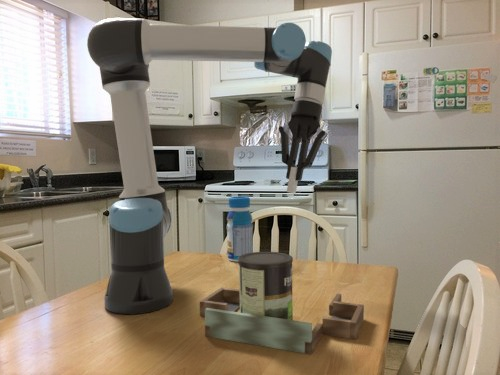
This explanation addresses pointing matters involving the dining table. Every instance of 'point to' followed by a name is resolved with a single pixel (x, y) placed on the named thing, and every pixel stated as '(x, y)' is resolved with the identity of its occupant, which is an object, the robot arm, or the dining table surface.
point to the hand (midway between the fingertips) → (291, 192)
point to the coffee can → (266, 284)
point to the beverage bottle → (239, 228)
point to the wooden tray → (276, 323)
